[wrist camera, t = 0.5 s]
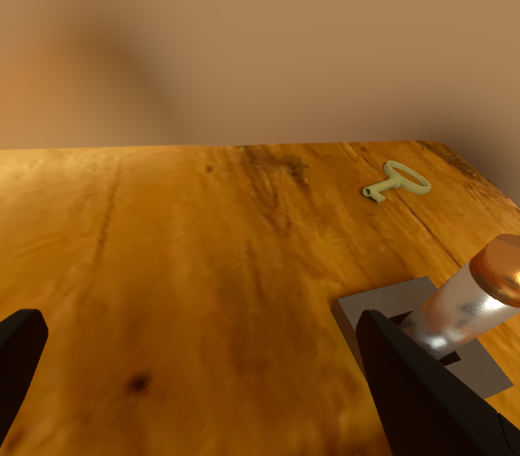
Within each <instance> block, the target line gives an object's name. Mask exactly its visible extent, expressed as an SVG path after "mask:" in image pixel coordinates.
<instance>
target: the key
mask: <svg viewBox="0 0 520 456" xmlns="http://www.w3.org/2000/svg"><path fill="white" fill-rule="evenodd" d="M392 167H395V168H398V169H400V170H403V171H404V172H406V173H408V174H410V175H411V176H413V177H414V178H415V179H417V180H418V181H419V182H420V183H421V184H422V186H420V185H417V184H415V183H413V182H411V181H409V180H407V179H406V178H404V177H403V176H401V175H400V174H398V173H397V172H396V171H395V170H394V169H393V168H392ZM383 170H384V172H385V174H386V175H387V176H388V177H389V178H388V180H385V181H383V182H380V183H377V184H374V185H371V186H369V187H366V188H364V189H363V194H364V195H365V196H371V197H373V198H374V199H375V200H376V201H378V202H381V201H384V200H385V197H384V196H382V195H381V194H380V193H378V192H381V191H383V190H386V189H389V188H391V187H394V188H398V187H399V186H401V187H403V188H404V189H406V190H408V191H411V192H413V193H417V194H426V193H428V192H429V191H430V189H431V184H430V183H429V182H428V181H427V180H426V179H425V178H423V177H422V176H421V175H419V174H418V173H416V172H415V171H413V170H412V169H410V168H408V167H407V166H405V165H403V164H401V163H398V162H396V161H387V162H386V164H385V165H384V167H383Z"/></svg>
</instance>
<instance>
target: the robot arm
mask: <svg viewBox="0 0 520 456" xmlns="http://www.w3.org/2000/svg"><path fill="white" fill-rule="evenodd" d="M355 333H356V338H357V342H358V346H359V350H360V354H361V358H362V363H363V367H364V371H365V375H366V379H367V382H368V386H369V389H370V392H371V395H372V397H373V400H374V403H375V406H376V409H377V411H378V414H379V417H380V420H381V423H382V426H383V428H384V431H385V434H386V437H387V440H388V443H389V445H390V448H391V451H392V454H393V456H520V430H519V429H518V428H517V427H516V426H514V425H513V424H512V423H511V422H510V421H508V420H507V419H506V418H505V417H504V416H503V415H501V414H500V413H497V411H496V410H495V409H494V408H493V407H492V406H491V405H489V404H488V403H487V402H486V401H485V400H484V399H482V398H481V397H480V396H479V395H478V394H477V393H475V392H474V391H473V390H472V389H471V388H469V387H468V386H467V385H466V384H465V383H464V382H462V381H461V380H460V379H459V378H458V377H456V376H455V375H454V374H453V373H452V372H451V371H449V370H448V369H447V368H446V367H445V366H443V365H442V364H441V363H440V362H439V361H438V360H436V359H435V358H434V357H433V356H432V355H431V354H429V353H428V352H427V351H426V350H425V349H423V348H422V347H421V346H420V345H419V344H418V343H416V342H415V341H414V340H413V339H412V338H410V337H409V336H408V335H407V334H406V333H405V332H403V331H402V330H401V329H400V328H399V327H397V326H396V325H395V324H394V323H393V322H392V321H390V320H389V319H388V318H387V317H386V316H385V315H383V314H382V313H381V312H380V311H378V310H374V309H366V310H364V311H363V312H362V314H361V316H360V318H359V320H358V323H357V325H356V329H355ZM47 338H48V327H47V325H46V322H45V320H44V318H43V315H42V313H41V311H40V310H38V309H20V310H18V311H16V312H15V313H13V314H12V315H10V316H9V317H7V318H6V319H4V320H3V321H1V322H0V447H1V445H2V443H3V441H4V439H5V437H6V435H7V433H8V431H9V429H10V427H11V425H12V423H13V421H14V419H15V417H16V415H17V413H18V411H19V409H20V407H21V405H22V403H23V400H24V398H25V396H26V394H27V391H28V389H29V386H30V384H31V381H32V378H33V376H34V373H35V370H36V368H37V365H38V362H39V360H40V357H41V354H42V352H43V349H44V346H45V344H46V341H47Z"/></svg>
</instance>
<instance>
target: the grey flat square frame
mask: <svg viewBox="0 0 520 456" xmlns="http://www.w3.org/2000/svg"><path fill="white" fill-rule="evenodd" d="M436 290H437V288H436V287H435V285H434V284H433V283H432V282H431V280H430V279H429V278H428V276H425V277H421V278H417V279H413V280H409V281H405V282H401V283H397V284H394V285H390V286H386V287H382V288H378V289H374V290H370V291H367V292H363V293H359V294H355V295H351V296H347V297H343V298H339V299H337V301H336V302H335V304H334V305H333V307H332V308H331V312H332V314H333V316H334V318H335V320H336V322H337V323H338V325H339V327H340V329H341V331H342V333H343V335H344V337H345V339H346V341H347V343H348V345H349V347H350V349H351V351H352V353H353V355H354V357H355V359H356V361H357V363H358V365H359V367H360V369H361V371H362V373H363V375H364V377H365V379H366V375H365V371H364V367H363V363H362V358H361V354H360V350H359V346H358V342H357V338H356V333H355V329H356V325H357V323H358V320H359V318H360V316H361V314H362V312H363V311H364V310H366V309H374V310H378V311H380V312H381V313H382V314H383V315H385V316H386V317H387V318H388V319H389V320H390V321H392V322H393V323H396V322H399V321H402V320H404V319H405V318H406V317H407V316H408V315H410V314H411V313H412V312H413V311H414V310H415V309H416V308H417V307H418V306H420V305H421V304H422V303H423V302H424V301H425V300H426V299H427V298H428V297H430V296H431V295H432V294H433V293H434V292H435V291H436ZM441 360H442V362H443V363H444V365H445V367H446V368H447V369H448V370H449V371H451V372H452V373H453V374H454V375H455V376H456V377H458V378H459V379H460V380H461V381H462V382H464V383H465V384H466V385H467V386H468V387H469V388H471V389H472V390H473V391H474V392H475V393H477V394H478V395H479V396H480V397H481V398H482V399H486V398H488V397H490V396H492V395H495V394H497V393H499V392H501V391H503V390H506V389H508V388H510V387H512V386H514V385H513V383H512V382H511V381H510V380H509V378H508V377H507V376H506V375H505V373H504V372H503V371H502V370H501V368H500V367H499V366H498V365H497V363H496V362H495V361H494V359H493V358H492V357H491V356H490V354H489V353H488V352H487V351H486V349H485V348H484V347H483V346H482V344H481V343H480V342H479V341H478V339H477V338H475V339H474V340H472V341H470V342H468V343H467V344H465V345H463V346H462V347H460V348H458V349H456V350H455V351H453V352H451V353H450V354H448V355H446V356H444V357H443V358H441ZM366 381H367V379H366ZM367 383H368V382H367Z"/></svg>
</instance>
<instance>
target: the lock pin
mask: <svg viewBox="0 0 520 456" xmlns="http://www.w3.org/2000/svg"><path fill="white" fill-rule="evenodd" d="M518 313H520V236H517V235H512V234H501V235H498V236H496V237H495V238H494V239H493V240H492V241H491V242H490V243H489V244H487V245H486V246H485V247H484V248H483V249H482V250H481V251H480V252H479V253H477V254H476V255H475V256H474V257H473V258H472V259H471V260H470V261H469V262H467V263H466V264H465V265H464V266H463V267H462V268H461V269H460V270H459V271H457V272H456V273H455V274H454V275H453V276H452V277H451V278H450V279H448V280H447V281H446V282H445V283H444V284H443V285H442V286H441V287H440V288H438V289H437V290H436V291H435V292H434V293H433V294H432V295H431V296H430V297H428V298H427V299H426V300H425V301H424V302H423V303H422V304H421V305H420V306H418V307H417V308H416V309H415V310H414V311H413V312H412V313H411V314H410V315H408V316H407V317H406V318H405V319H404V320H403V321H402V322H401V323H400V324H398V325H397V327H399V328H400V329H401V330H402V331H403V332H405V333H406V334H407V335H408V336H409V337H410V338H412V339H413V340H414V341H415V342H416V343H418V344H419V345H420V346H421V347H422V348H423V349H425V350H426V351H427V352H428V353H429V354H431V355H432V356H433V357H434V358H435V359H436V360H439V359H441V358H443V357H444V356H446V355H448V354H450V353H451V352H453V351H455V350H456V349H458V348H460V347H462V346H463V345H465V344H467V343H468V342H470V341H472V340H474V339H475V338H477V337H479V336H480V335H482V334H484V333H486V332H487V331H489V330H491V329H492V328H494V327H496V326H497V325H499V324H501V323H503V322H504V321H506V320H508V319H509V318H511V317H513V316H515V315H516V314H518Z"/></svg>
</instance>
